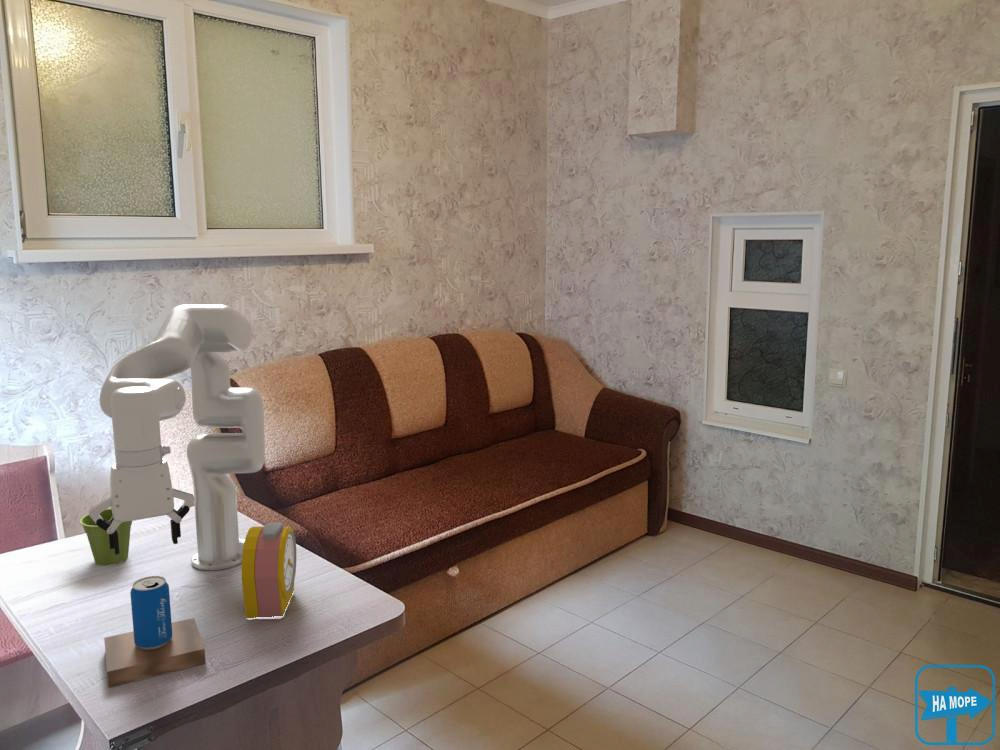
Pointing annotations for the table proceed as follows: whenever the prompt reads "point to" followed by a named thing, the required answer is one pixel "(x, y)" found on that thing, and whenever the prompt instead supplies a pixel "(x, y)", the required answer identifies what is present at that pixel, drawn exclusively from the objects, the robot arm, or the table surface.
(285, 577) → the alarm clock
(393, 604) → the table surface
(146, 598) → the beverage can
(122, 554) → the plant pot
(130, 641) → the walnut board
